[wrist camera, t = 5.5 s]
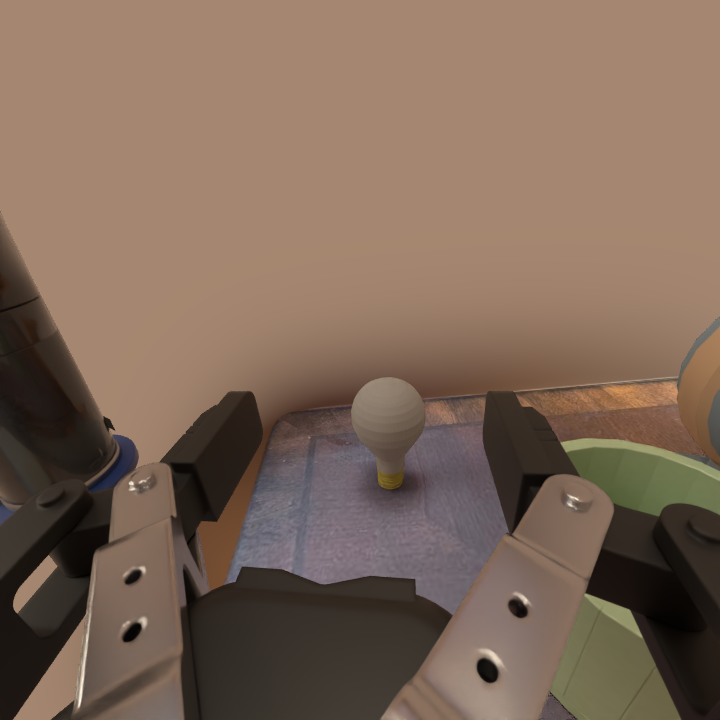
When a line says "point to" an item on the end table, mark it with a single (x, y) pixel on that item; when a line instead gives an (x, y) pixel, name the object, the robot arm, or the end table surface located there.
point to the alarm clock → (702, 395)
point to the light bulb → (388, 424)
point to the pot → (612, 622)
